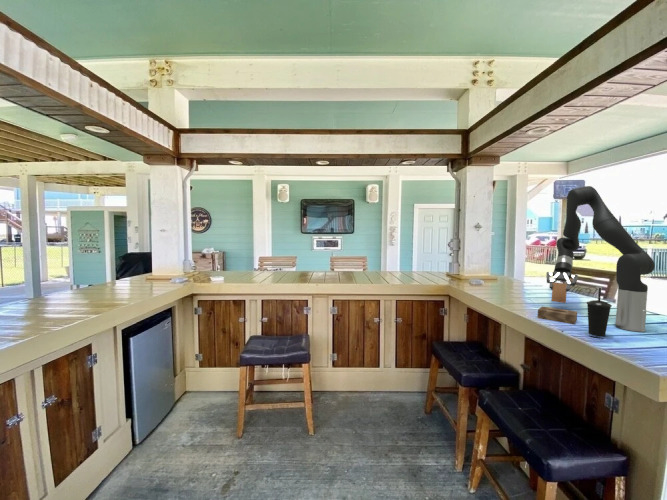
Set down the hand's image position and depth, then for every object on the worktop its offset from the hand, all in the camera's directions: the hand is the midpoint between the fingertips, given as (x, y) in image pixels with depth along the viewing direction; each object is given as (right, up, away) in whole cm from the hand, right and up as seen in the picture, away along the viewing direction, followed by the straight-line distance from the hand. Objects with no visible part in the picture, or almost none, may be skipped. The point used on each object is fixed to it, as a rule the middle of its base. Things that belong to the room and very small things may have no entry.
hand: (559, 289), depth 160 cm
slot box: (-13, -13, -16) cm, 24 cm away
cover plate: (+1, -7, +2) cm, 7 cm away
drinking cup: (-13, -14, -37) cm, 42 cm away
